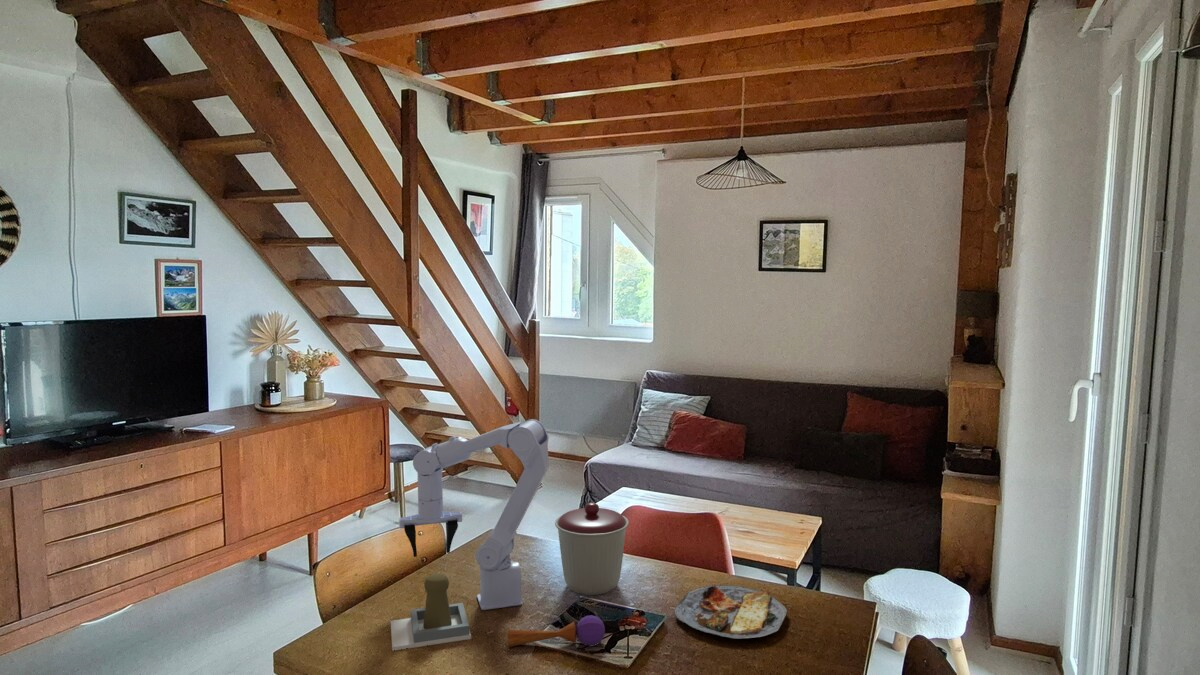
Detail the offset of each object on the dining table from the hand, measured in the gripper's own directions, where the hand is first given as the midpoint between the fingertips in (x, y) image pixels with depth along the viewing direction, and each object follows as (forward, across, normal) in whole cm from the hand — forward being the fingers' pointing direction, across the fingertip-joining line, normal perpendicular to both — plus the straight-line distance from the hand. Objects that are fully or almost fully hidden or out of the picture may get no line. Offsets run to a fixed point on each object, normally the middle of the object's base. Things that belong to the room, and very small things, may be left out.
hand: (431, 553), depth 172 cm
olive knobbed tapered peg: (+10, 0, +17) cm, 20 cm away
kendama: (+11, -23, +32) cm, 40 cm away
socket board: (+10, +2, +18) cm, 21 cm away
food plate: (+11, -63, +32) cm, 71 cm away
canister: (+11, -38, +7) cm, 40 cm away
